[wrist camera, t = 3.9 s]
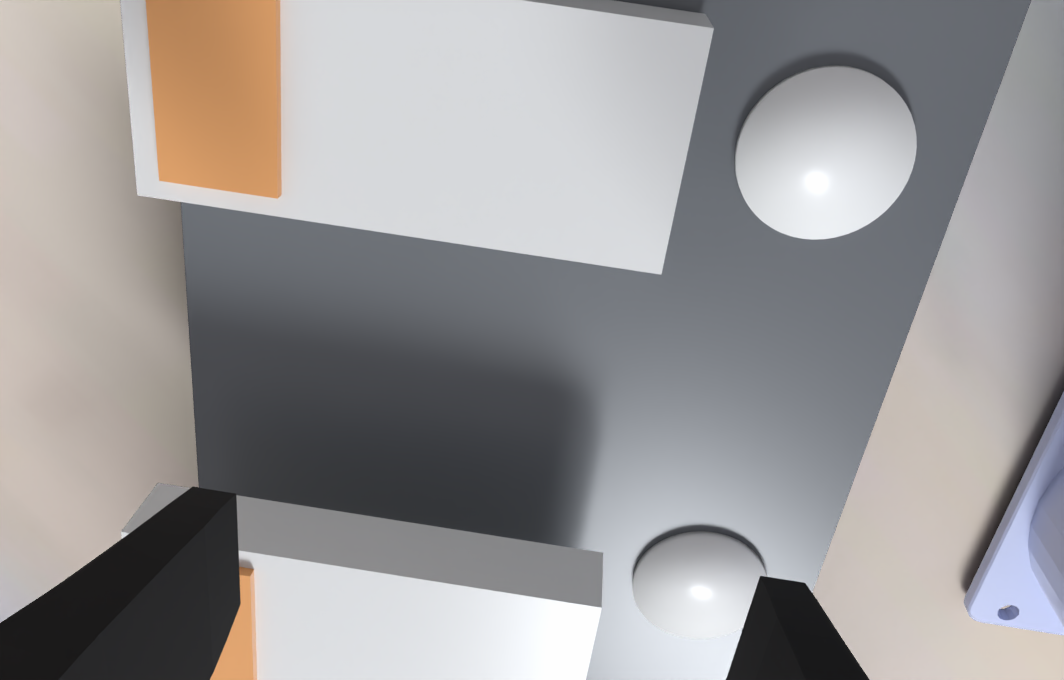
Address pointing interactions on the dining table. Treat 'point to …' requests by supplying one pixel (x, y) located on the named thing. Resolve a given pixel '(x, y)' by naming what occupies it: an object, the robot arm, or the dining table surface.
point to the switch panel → (625, 333)
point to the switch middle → (424, 117)
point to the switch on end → (399, 599)
